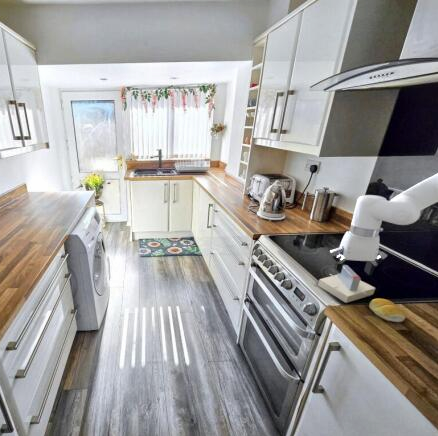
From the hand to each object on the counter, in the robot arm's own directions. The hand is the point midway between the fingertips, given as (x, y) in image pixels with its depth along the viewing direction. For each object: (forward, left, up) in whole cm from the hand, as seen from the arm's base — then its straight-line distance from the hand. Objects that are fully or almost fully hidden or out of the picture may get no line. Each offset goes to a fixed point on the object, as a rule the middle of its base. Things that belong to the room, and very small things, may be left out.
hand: (352, 272), depth 90 cm
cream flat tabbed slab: (0, -1, -8) cm, 8 cm away
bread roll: (0, +13, -9) cm, 15 cm away
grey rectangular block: (0, -1, -5) cm, 5 cm away
